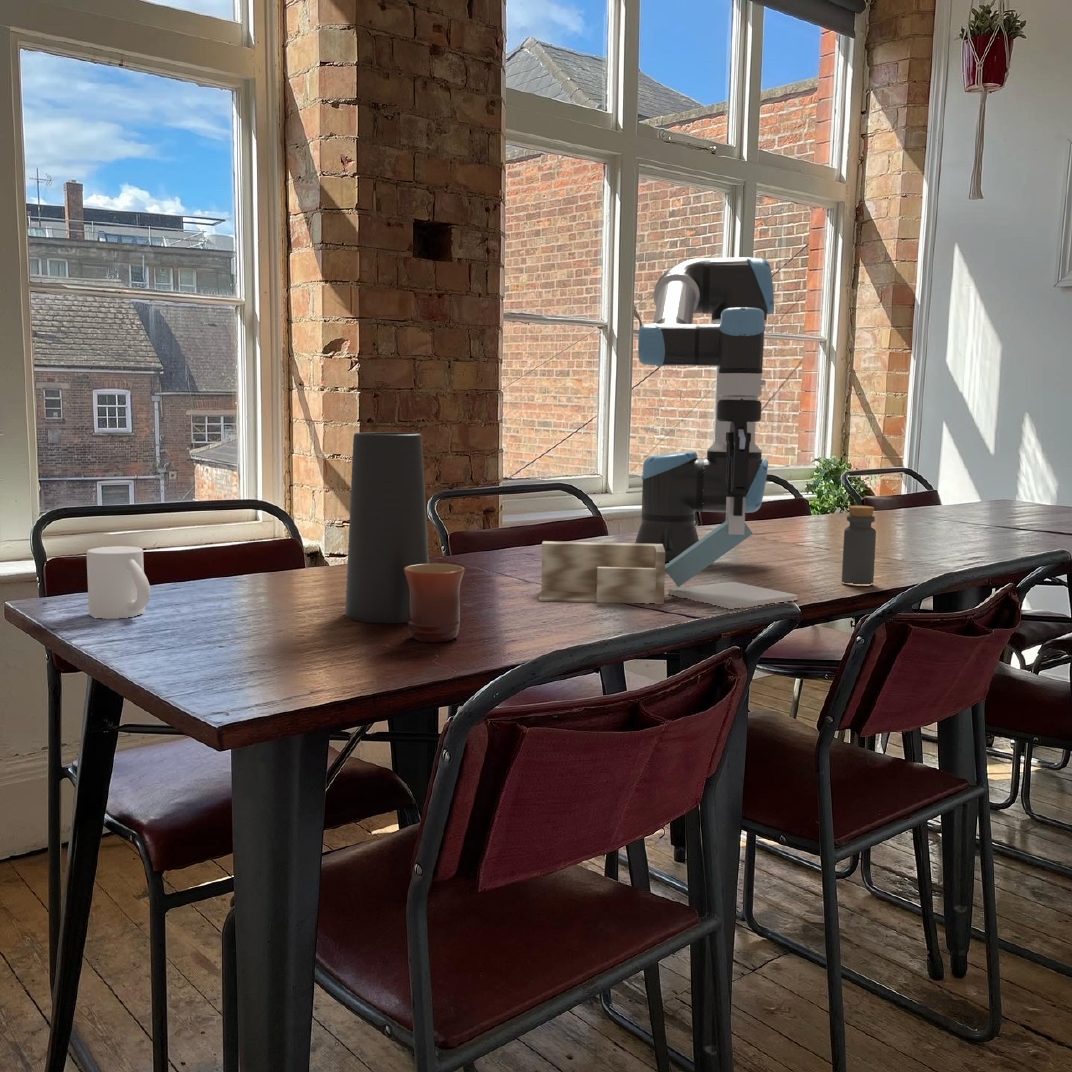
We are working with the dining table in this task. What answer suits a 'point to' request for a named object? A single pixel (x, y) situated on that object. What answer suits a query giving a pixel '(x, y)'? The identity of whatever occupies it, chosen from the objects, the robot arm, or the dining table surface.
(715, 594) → the tile
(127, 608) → the mug
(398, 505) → the vase
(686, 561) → the bar
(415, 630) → the mug
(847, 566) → the bottle
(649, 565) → the block
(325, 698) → the dining table surface
